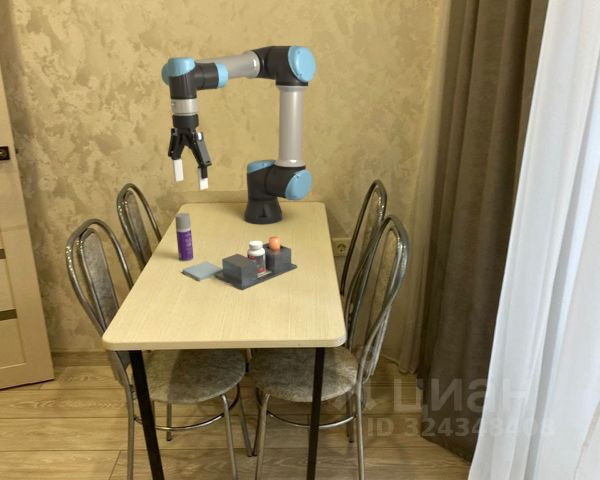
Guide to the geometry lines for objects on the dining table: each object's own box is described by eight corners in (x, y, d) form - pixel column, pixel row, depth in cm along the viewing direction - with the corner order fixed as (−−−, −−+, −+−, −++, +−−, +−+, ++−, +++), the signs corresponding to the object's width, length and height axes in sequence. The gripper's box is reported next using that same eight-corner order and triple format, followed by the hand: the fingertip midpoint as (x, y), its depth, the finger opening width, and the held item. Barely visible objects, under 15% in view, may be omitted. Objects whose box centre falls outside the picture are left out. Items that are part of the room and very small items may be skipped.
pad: (206, 264, 174) (206, 261, 173) (223, 272, 168) (223, 269, 167) (182, 272, 168) (182, 269, 167) (199, 281, 162) (199, 277, 161)
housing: (269, 256, 179) (268, 239, 177) (297, 267, 170) (297, 250, 168) (215, 276, 164) (213, 258, 162) (242, 290, 156) (241, 271, 154)
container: (190, 262, 175) (186, 217, 170) (176, 260, 176) (172, 217, 171) (195, 256, 180) (192, 213, 174) (182, 255, 181) (178, 212, 175)
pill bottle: (247, 276, 165) (246, 246, 161) (248, 269, 170) (247, 239, 166) (265, 275, 165) (264, 245, 161) (265, 268, 170) (264, 239, 166)
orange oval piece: (275, 250, 173) (274, 236, 171) (282, 253, 171) (282, 238, 169) (267, 253, 171) (266, 238, 169) (274, 256, 169) (274, 241, 167)
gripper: (151, 110, 164) (159, 179, 171) (198, 119, 147) (203, 195, 154) (173, 108, 169) (179, 175, 176) (220, 116, 152) (225, 189, 159)
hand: (191, 184), depth 165 cm, fingers open, 13 cm apart
